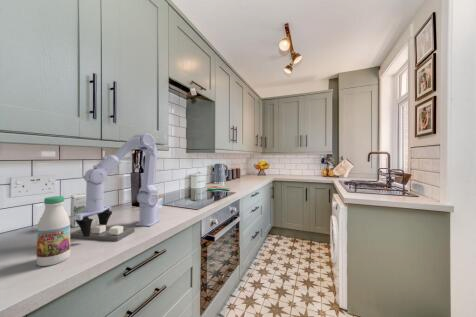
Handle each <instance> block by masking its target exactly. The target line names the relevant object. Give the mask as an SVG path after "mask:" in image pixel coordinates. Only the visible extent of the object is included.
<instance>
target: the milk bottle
mask: <svg viewBox="0 0 476 317" xmlns="http://www.w3.org/2000/svg"><path fill="white" fill-rule="evenodd" d="M43 203H44V206H45V207H44V211H43V213H42V215H41V217H40V218H39V221H38V224H37V225H36V226H37V227H36V228H37V229H36V264H37V266H40V267H47V266H48V267H49V266H53V265H56V264H60V263H63V262H65V261H66V260H68V259H69V258H70V256H71V237H70V233H71V219H70V217H69V215H68V213H67V212H66V210H65V207H64V204H65V196H63V195H53V196H48V197H45V198H44V200H43Z"/></svg>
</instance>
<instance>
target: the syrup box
mask: <svg viewBox="0 0 476 317" xmlns="http://www.w3.org/2000/svg"><path fill="white" fill-rule="evenodd" d="M85 210H86V193H80V194H79V193H78V194H71V195H70V227H72V228H73V229H74V228H78V227H79V228H80V226H79V225H78V224H77V222H76V215H77V214H79V213H82V212H84V211H85Z"/></svg>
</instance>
